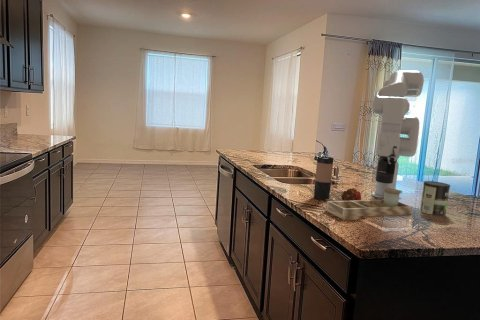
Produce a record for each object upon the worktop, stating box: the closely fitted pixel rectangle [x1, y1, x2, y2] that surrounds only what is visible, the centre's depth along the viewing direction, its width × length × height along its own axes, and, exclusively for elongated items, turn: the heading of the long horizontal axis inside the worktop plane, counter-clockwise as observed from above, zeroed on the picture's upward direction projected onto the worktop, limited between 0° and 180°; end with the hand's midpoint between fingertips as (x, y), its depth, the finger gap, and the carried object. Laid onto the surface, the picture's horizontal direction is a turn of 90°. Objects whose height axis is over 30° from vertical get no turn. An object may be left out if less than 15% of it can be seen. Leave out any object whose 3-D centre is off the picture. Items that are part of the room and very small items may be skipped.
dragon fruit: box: [340, 187, 362, 201], centre depth 167 cm, size 8×8×12 cm
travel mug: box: [313, 156, 334, 201], centre depth 174 cm, size 8×8×20 cm
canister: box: [383, 188, 401, 207], centre depth 157 cm, size 6×6×9 cm
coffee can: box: [419, 180, 451, 216], centre depth 159 cm, size 10×10×14 cm
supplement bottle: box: [375, 155, 396, 184], centre depth 147 cm, size 7×7×12 cm
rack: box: [325, 199, 413, 221], centre depth 154 cm, size 34×13×4 cm, turn 110°
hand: (385, 171), depth 148 cm, fingers closed on supplement bottle, 6 cm apart
